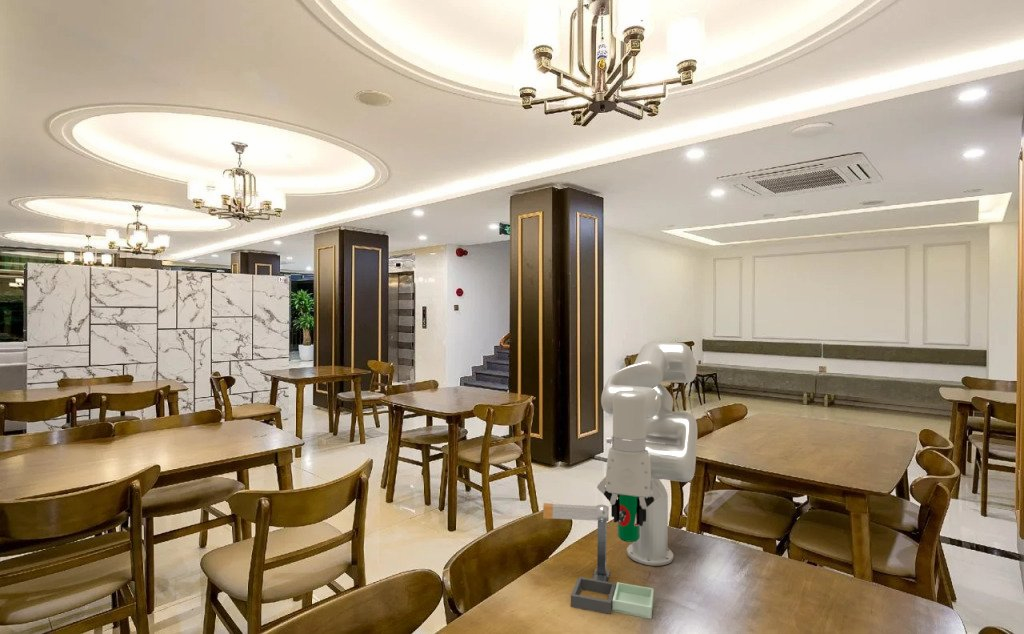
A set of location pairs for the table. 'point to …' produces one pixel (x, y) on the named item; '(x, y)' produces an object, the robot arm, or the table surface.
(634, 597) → the tray
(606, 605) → the collar
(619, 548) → the table surface
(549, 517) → the bar
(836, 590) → the table surface
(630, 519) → the soda can
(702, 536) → the table surface
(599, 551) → the post
